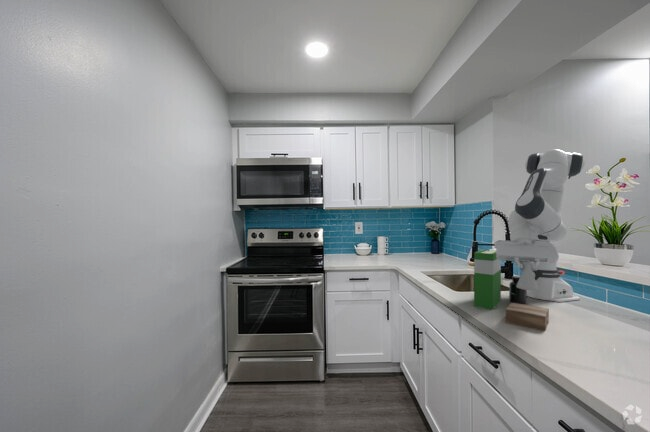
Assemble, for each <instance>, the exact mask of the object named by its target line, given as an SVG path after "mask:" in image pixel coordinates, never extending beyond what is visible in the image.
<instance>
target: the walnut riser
mask: <svg viewBox="0 0 650 432" xmlns="http://www.w3.org/2000/svg"><path fill="white" fill-rule="evenodd" d="M549 310H550V309H549V308H546V307H542V306H541V307H540V306H534V305H530V304H529V305H528V304H518V303H511V302H510V303H509V305H508V306H507V307H506V308H505V323H506V324H507V323H508V324H512V325H515V326H521V327H524V328H525V327H526V328H529V329H535V330H539V331H543V332H544V331H546V330H547V327H548V325H549V321H550V319H549V318H550V317H549V316H550V315H549V312H550V311H549Z"/></svg>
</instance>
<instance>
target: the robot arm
mask: <svg viewBox="0 0 650 432" xmlns="http://www.w3.org/2000/svg"><path fill="white" fill-rule="evenodd" d="M524 166H525V170H526V172H527V173H528V174H530V176H529V177H528V179H527V181H526V183H525V186H524V189H523V190H522V192H521V195H520V197H519V198H518V199H517V200H516V202H515V205H514V210H513V211H511V213H510V215H509V217H508V229H509V234H510V235H509V239H510V240H508V239H507V240H502V239H499V240H496V241H495V242H494V245H493V246H494V248H495V249H496V251H495V252H496V258H497V259H498V260H501V261H511V262H513V264H515V265H516V266H517V269H518V270H522V271H523V263H521V262H531V263H533V264H532V272H533V275H534V278H535V280H536V283H537V285H538V288H539V290H527V297H529V298H533V299H538V300H542V301H543V300H544V301H550V302H557V303H561V302H563V303H564V302H571V301H579V300H580V297H579V296H578V295H574V289H573V287H572V285H570V284H569V283H568V282H567V281H565V280H564V279H563V278H562V277H561V276H564V275H565V271H564V270H558V268H557V267H558V266H557V262H558V261H559V258H560V257H559V252H558V250H557V248H556V246H555V244H554V243H553V242H559V241H561V240H563V239H564V238H566V236H567V232H568V231H567V230H568V229H567V226H566V225H565V224H564V222H563V218H562V203H563V202H562V201H563V195H564V189H565V183H566V180H567V179H568V180H570V179H571V178H573V177H575V176H577V175H579V174H580V173H581V172H582V170H583V169H584V166H585V159H584V155H583V154H581V153H578V152H572V153H571V152H565V151H563V150H561V149H558V148H557V149H555V148H554V149H549V150H547V151H546V152H541V153H539V152H537V153H532V154H530V155H529V156H528V157H527V159H526V161H525V164H524ZM567 177H568V178H567Z"/></svg>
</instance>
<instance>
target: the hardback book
mask: <svg viewBox="0 0 650 432" xmlns="http://www.w3.org/2000/svg"><path fill="white" fill-rule="evenodd" d="M473 255H474V256H473V257H474V259H473V261H474V263H473V264H474V265H473V266H474V268H473V269H474V272H473V273H474V274H473V275H474V277H473V278H474V279H473V280H474V284H473V287H474V288H473V296H474V298H473V304H474V305H473V306H474V307H477V308H482V309H487V310H493V311H494V309H495V308H496V307H497V306H498V305H499V303H500V302H501V300H502V298H501V294H502V293H501V292H502V289H501V287H502V286H501V285H502V282H501V281H502V275H501V274H502V272H501V270H502V268H501V267H502V260H498V259H497V258H496V251H493V250H492V251H487V250H486V249H481V250H477V251H475V252H474V254H473Z"/></svg>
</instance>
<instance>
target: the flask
mask: <svg viewBox="0 0 650 432" xmlns="http://www.w3.org/2000/svg"><path fill="white" fill-rule="evenodd" d="M521 262H522V264H523V270H522V271H521V274H520V279H519V281H518V283H517V285H516V287H517V288H520V289H523V290H539V288H538V285H537V283H536V280H535V278H534V275H533V272H532V264H533V263H531V262H525V261H521Z"/></svg>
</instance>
